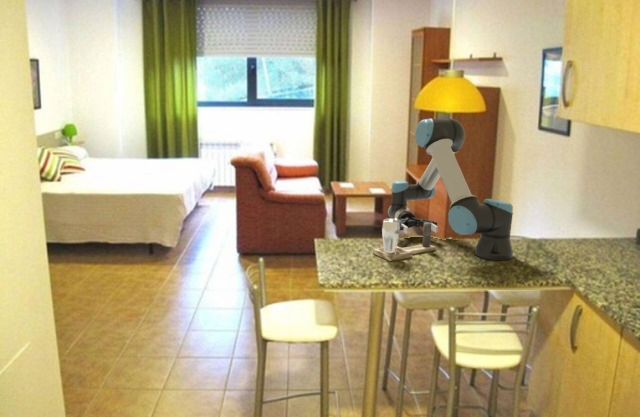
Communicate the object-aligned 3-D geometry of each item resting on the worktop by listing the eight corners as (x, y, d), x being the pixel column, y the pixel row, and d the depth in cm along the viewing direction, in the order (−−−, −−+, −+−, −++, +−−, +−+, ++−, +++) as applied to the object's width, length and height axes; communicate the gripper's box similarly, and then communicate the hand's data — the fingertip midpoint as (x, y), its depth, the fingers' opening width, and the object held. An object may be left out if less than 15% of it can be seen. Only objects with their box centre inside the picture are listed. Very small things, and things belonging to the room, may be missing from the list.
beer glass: (386, 259, 239) (388, 222, 236) (377, 254, 245) (379, 218, 242) (401, 257, 242) (403, 221, 238) (392, 252, 248) (394, 217, 245)
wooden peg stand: (440, 252, 250) (442, 225, 248) (389, 260, 237) (391, 232, 234) (422, 245, 260) (423, 219, 257) (372, 253, 246) (373, 226, 244)
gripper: (430, 225, 281) (448, 237, 261) (379, 227, 276) (393, 239, 255) (431, 210, 279) (449, 221, 259) (379, 211, 274) (394, 222, 254)
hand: (422, 230), depth 257 cm, fingers open, 13 cm apart
